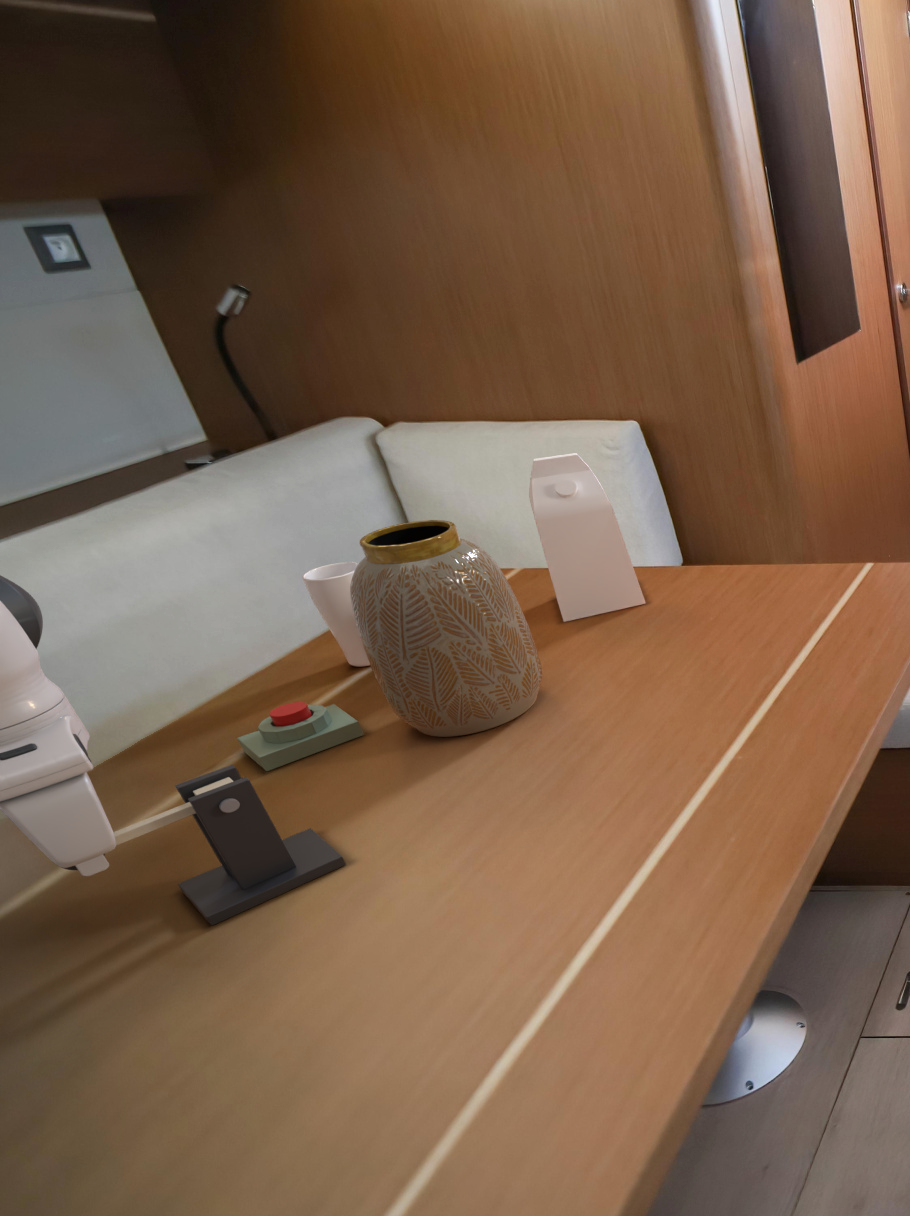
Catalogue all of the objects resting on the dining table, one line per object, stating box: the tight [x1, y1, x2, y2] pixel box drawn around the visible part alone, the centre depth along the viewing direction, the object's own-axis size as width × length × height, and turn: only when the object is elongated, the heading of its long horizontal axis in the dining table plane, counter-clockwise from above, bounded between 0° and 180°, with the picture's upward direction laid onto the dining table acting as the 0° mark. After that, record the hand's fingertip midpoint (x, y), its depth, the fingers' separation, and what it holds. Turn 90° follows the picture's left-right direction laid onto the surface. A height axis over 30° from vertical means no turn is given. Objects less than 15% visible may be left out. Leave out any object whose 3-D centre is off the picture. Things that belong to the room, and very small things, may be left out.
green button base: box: [236, 703, 365, 772], centre depth 125 cm, size 10×8×4 cm
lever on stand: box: [175, 764, 347, 926], centre depth 101 cm, size 11×9×13 cm
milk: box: [528, 452, 647, 623], centre depth 160 cm, size 12×12×26 cm
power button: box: [269, 701, 312, 727], centre depth 124 cm, size 4×4×2 cm
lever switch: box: [60, 777, 233, 871], centre depth 95 cm, size 13×3×3 cm, turn 148°
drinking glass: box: [302, 561, 371, 668], centre depth 143 cm, size 7×7×15 cm
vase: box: [350, 519, 543, 738], centre depth 128 cm, size 17×17×27 cm
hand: (89, 861), depth 92 cm, fingers closed on lever switch, 3 cm apart
